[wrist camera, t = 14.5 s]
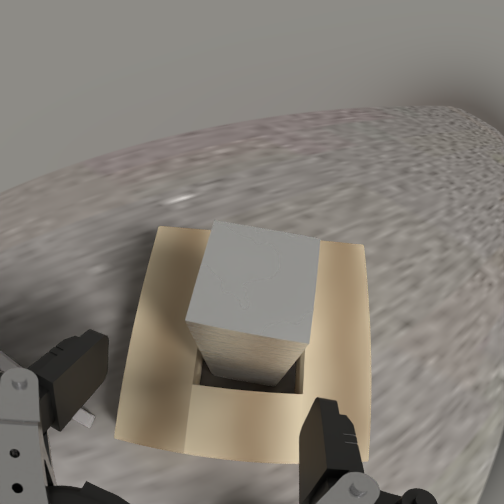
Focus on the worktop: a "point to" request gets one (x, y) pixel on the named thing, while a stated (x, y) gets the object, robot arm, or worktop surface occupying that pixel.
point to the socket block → (230, 400)
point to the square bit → (254, 301)
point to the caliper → (7, 363)
